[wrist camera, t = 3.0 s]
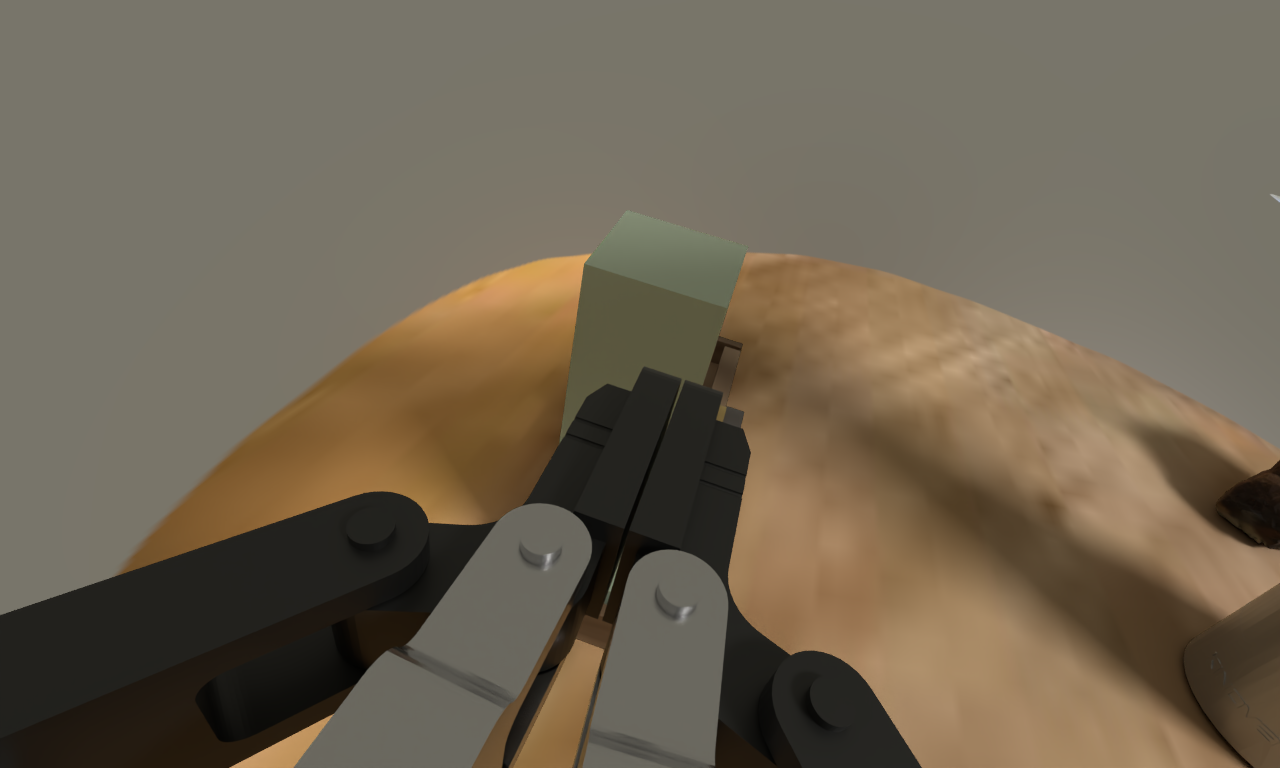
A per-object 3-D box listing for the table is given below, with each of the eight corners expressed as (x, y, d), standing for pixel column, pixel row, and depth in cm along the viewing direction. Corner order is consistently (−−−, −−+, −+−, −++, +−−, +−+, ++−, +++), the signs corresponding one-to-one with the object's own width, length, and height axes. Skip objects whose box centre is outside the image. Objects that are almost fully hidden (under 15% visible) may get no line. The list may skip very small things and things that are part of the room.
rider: (627, 625, 28) (727, 322, 17) (531, 590, 29) (570, 273, 18) (659, 527, 33) (754, 239, 22) (576, 498, 33) (629, 201, 22)
